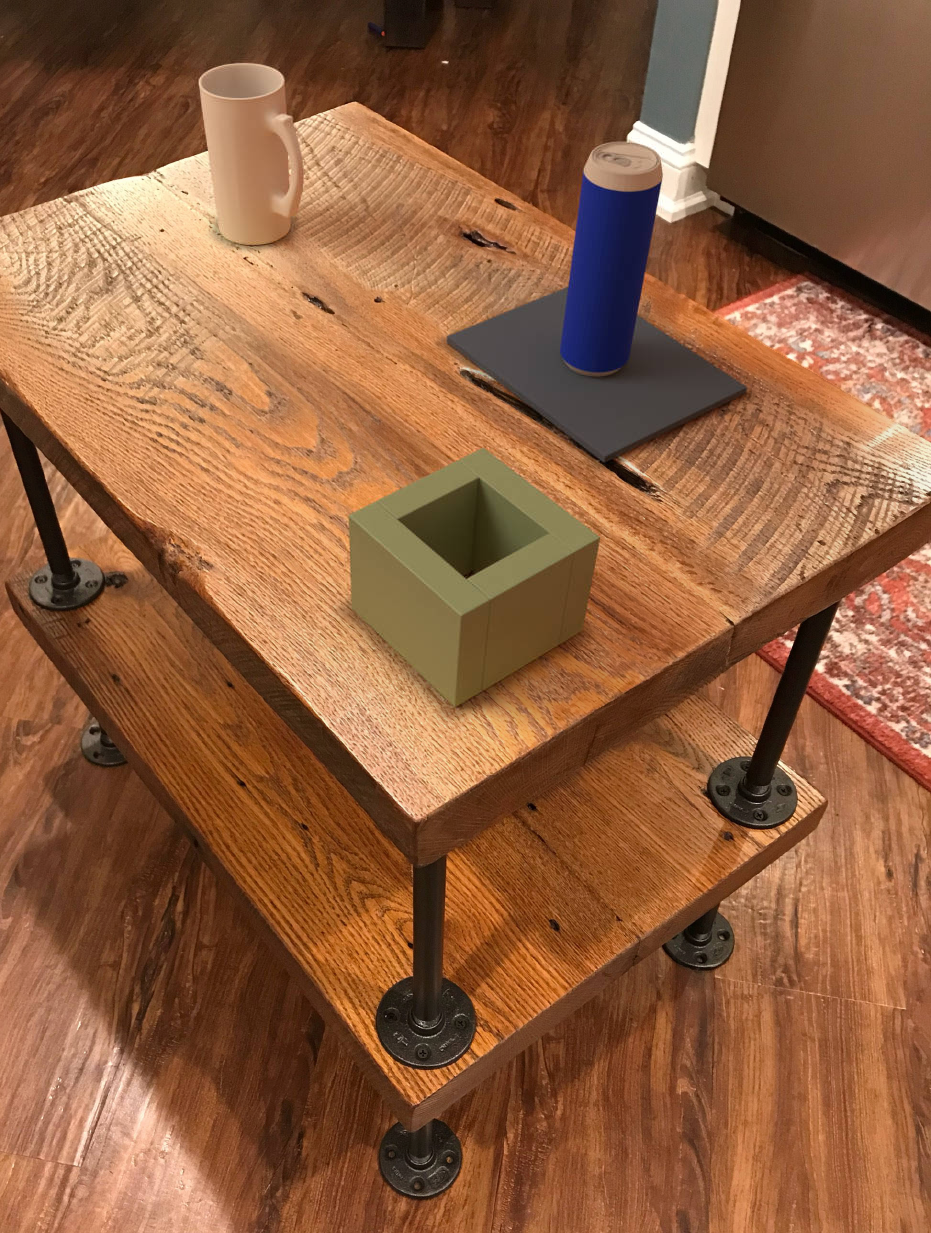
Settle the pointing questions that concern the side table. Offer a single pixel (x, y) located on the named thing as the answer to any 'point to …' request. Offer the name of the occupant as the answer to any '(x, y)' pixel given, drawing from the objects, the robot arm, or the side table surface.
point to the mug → (251, 152)
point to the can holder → (456, 545)
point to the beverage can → (610, 256)
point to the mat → (596, 378)
